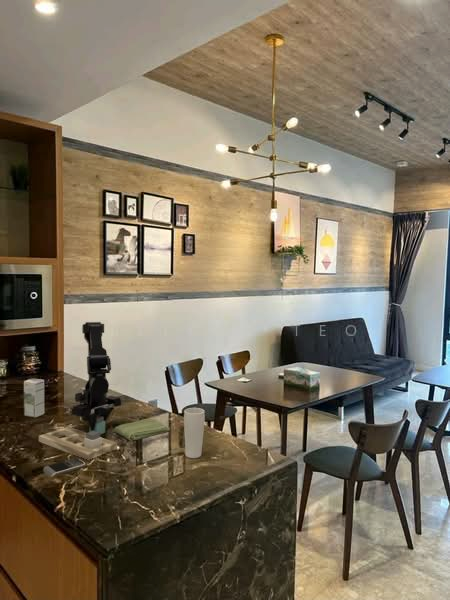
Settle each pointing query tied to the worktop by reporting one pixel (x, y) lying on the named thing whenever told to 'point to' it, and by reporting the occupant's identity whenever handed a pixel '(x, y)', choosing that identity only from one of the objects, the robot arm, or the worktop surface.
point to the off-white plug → (92, 440)
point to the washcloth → (141, 429)
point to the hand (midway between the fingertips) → (97, 428)
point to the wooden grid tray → (75, 449)
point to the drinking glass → (193, 431)
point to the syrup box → (33, 397)
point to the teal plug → (99, 425)
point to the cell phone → (63, 467)
